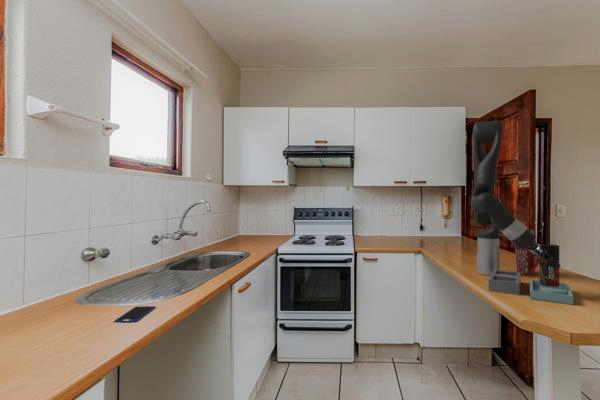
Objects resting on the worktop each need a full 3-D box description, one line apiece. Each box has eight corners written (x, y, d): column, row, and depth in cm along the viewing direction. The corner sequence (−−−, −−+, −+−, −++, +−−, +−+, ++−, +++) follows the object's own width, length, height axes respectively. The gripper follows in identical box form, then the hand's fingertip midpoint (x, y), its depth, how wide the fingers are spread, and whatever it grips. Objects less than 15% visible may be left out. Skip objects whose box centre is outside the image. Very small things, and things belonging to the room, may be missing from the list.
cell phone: (112, 323, 98) (112, 321, 98) (135, 308, 112) (135, 306, 112) (137, 323, 98) (137, 321, 98) (157, 308, 112) (157, 306, 112)
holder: (519, 295, 122) (519, 283, 122) (488, 290, 128) (488, 279, 128) (520, 282, 139) (520, 272, 139) (493, 279, 145) (493, 269, 145)
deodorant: (552, 283, 124) (552, 244, 124) (563, 287, 118) (563, 246, 118) (535, 282, 125) (535, 244, 125) (546, 287, 119) (546, 246, 119)
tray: (573, 305, 110) (573, 296, 110) (530, 299, 117) (529, 290, 117) (567, 291, 126) (567, 283, 126) (530, 286, 133) (530, 279, 133)
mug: (510, 271, 161) (509, 244, 161) (527, 270, 162) (527, 243, 162) (528, 277, 149) (528, 248, 149) (548, 277, 149) (547, 247, 149)
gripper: (531, 228, 118) (572, 263, 113) (520, 225, 131) (556, 256, 127) (514, 242, 119) (553, 276, 115) (505, 237, 133) (539, 268, 129)
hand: (554, 266), depth 121 cm, fingers closed on deodorant, 6 cm apart
